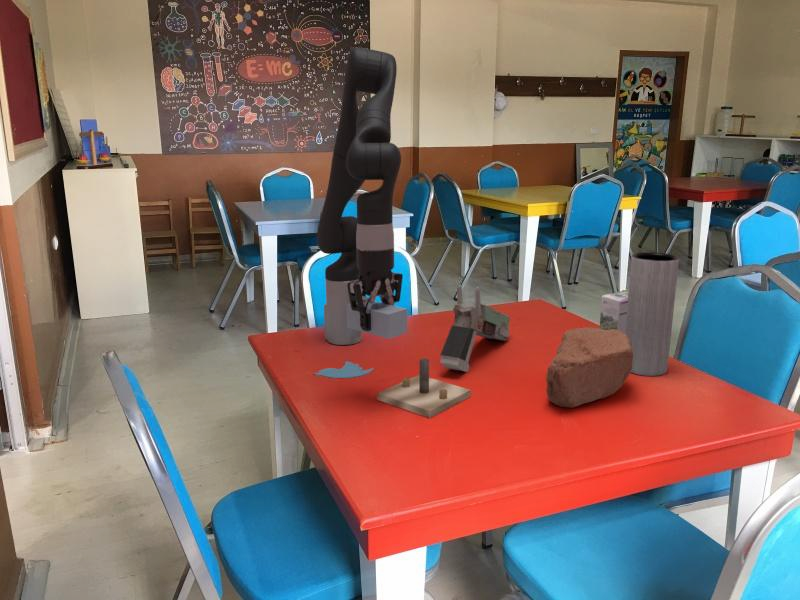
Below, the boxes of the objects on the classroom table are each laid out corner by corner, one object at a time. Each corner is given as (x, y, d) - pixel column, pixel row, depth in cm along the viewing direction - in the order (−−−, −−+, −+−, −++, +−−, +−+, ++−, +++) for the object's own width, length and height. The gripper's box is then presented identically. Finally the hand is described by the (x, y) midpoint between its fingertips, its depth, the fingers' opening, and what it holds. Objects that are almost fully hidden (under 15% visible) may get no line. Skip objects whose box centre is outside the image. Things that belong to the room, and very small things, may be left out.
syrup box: (630, 351, 167) (635, 296, 163) (615, 356, 163) (619, 299, 160) (611, 345, 171) (616, 291, 167) (596, 349, 168) (600, 295, 164)
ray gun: (433, 366, 149) (447, 280, 151) (478, 373, 178) (490, 301, 180) (462, 371, 146) (476, 283, 148) (503, 378, 175) (515, 304, 177)
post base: (377, 399, 138) (376, 361, 135) (419, 380, 148) (419, 345, 146) (429, 418, 129) (430, 377, 127) (470, 396, 139) (471, 358, 137)
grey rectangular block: (346, 327, 137) (346, 304, 136) (365, 321, 141) (365, 299, 139) (388, 338, 129) (388, 314, 128) (407, 332, 133) (407, 308, 132)
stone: (511, 397, 135) (535, 335, 128) (559, 359, 155) (581, 304, 149) (583, 439, 128) (612, 376, 121) (623, 393, 148) (650, 337, 141)
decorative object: (377, 370, 155) (346, 362, 161) (377, 368, 155) (346, 359, 161) (341, 386, 146) (310, 376, 152) (341, 384, 146) (310, 374, 152)
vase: (617, 361, 160) (627, 251, 153) (660, 362, 159) (671, 252, 152) (627, 375, 150) (637, 260, 143) (672, 377, 149) (685, 260, 142)
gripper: (386, 239, 138) (387, 316, 142) (335, 248, 128) (338, 331, 132) (413, 243, 133) (413, 322, 137) (362, 252, 123) (364, 338, 127)
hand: (376, 326), depth 135 cm, fingers closed on grey rectangular block, 5 cm apart
